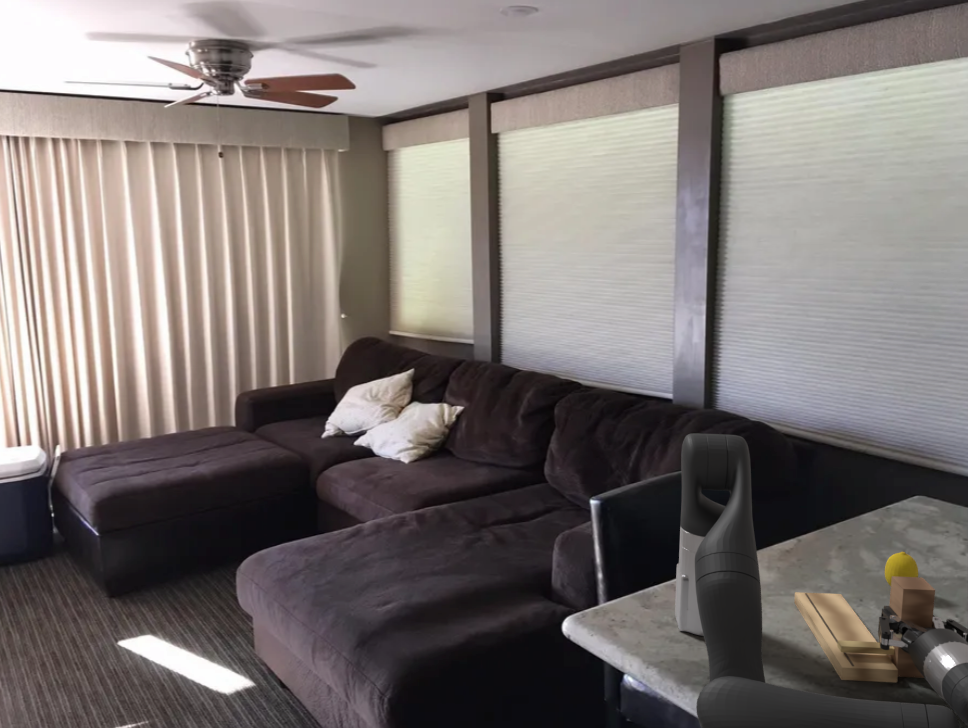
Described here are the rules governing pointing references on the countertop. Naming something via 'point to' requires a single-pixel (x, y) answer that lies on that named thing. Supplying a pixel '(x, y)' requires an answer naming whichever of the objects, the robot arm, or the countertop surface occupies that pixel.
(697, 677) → the countertop surface
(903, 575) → the lemon
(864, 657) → the board
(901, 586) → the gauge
